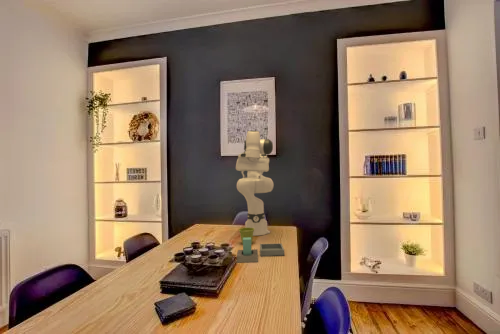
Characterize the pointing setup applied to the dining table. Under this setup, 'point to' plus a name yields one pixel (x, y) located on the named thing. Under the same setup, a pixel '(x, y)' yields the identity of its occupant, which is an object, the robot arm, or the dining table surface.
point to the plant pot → (246, 233)
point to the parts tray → (271, 249)
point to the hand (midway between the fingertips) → (251, 178)
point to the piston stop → (247, 246)
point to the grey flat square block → (247, 256)
